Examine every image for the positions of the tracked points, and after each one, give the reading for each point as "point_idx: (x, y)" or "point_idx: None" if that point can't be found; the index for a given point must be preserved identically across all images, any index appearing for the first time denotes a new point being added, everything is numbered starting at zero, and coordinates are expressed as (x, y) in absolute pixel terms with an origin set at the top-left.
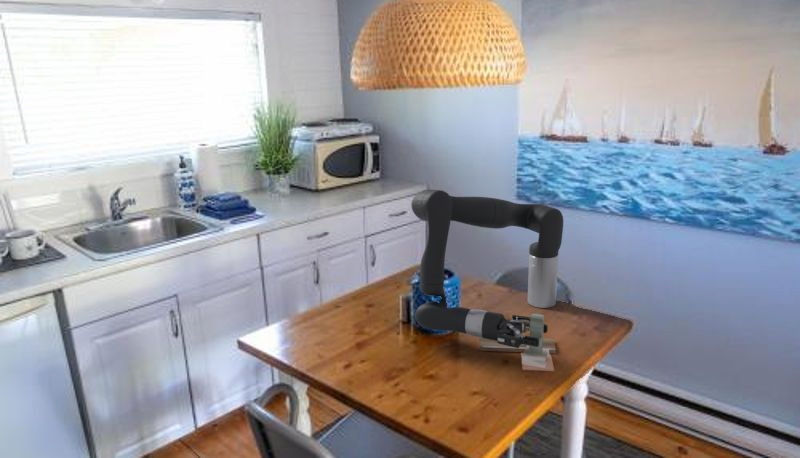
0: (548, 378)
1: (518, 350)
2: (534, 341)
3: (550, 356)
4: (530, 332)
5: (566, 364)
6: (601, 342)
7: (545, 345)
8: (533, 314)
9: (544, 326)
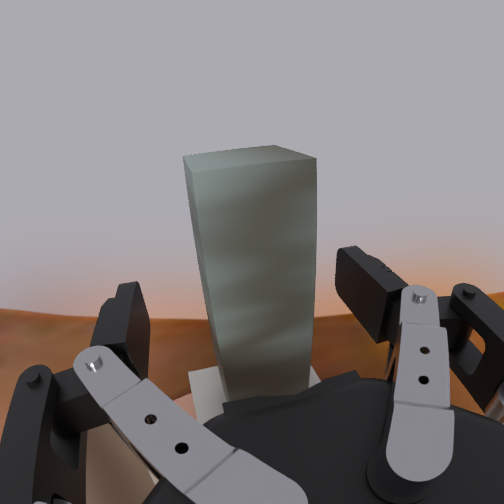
0: (339, 346)
1: None
2: (374, 260)
3: (184, 398)
4: (312, 295)
5: (202, 348)
6: (32, 321)
7: (101, 435)
8: (215, 165)
9: (138, 293)
